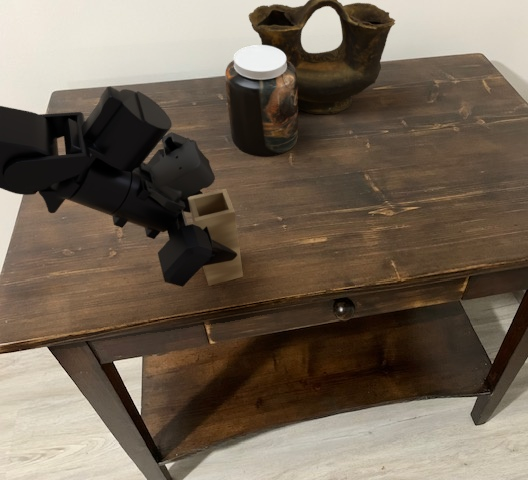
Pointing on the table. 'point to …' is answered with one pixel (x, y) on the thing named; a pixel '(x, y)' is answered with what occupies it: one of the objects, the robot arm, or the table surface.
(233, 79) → the jar
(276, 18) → the pottery vessel
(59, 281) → the table surface
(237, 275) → the square pencil holder
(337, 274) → the table surface
